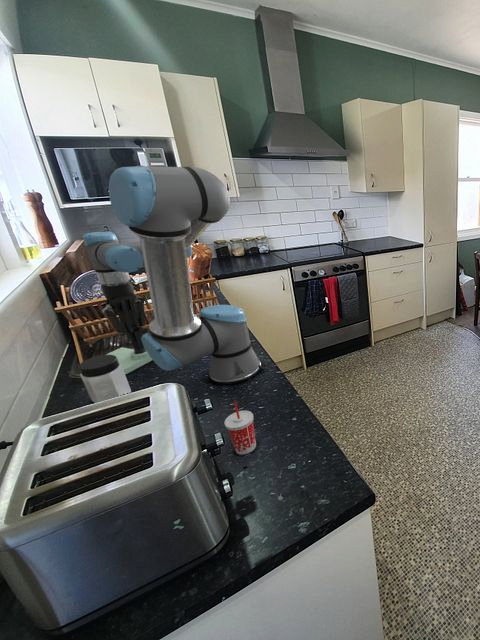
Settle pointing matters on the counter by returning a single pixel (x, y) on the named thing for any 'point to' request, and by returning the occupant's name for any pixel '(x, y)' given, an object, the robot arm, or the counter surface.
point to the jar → (104, 377)
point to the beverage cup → (241, 430)
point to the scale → (130, 359)
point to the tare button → (140, 350)
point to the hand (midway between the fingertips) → (139, 347)
